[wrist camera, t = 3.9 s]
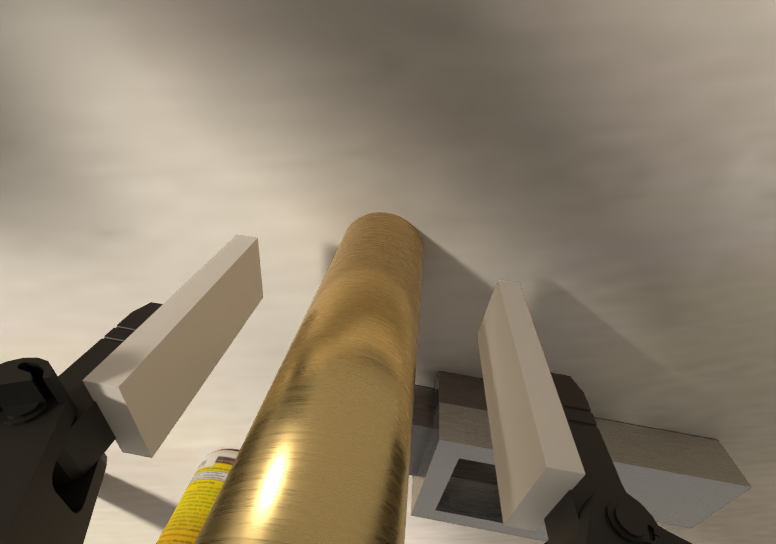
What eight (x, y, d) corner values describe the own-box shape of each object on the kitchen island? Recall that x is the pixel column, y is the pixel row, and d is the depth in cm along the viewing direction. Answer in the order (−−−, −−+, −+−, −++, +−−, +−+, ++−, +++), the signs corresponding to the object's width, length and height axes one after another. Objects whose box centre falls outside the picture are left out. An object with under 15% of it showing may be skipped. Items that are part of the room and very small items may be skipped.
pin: (345, 206, 14) (141, 563, 4) (430, 220, 14) (415, 618, 4) (340, 276, 16) (192, 632, 6) (415, 289, 16) (382, 671, 6)
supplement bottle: (194, 460, 28) (89, 638, 20) (227, 437, 26) (123, 631, 17) (251, 490, 30) (177, 665, 22) (287, 471, 27) (220, 662, 19)
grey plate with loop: (295, 427, 24) (273, 488, 21) (293, 344, 19) (263, 406, 16) (654, 494, 23) (691, 569, 20) (736, 424, 19) (801, 506, 15)
